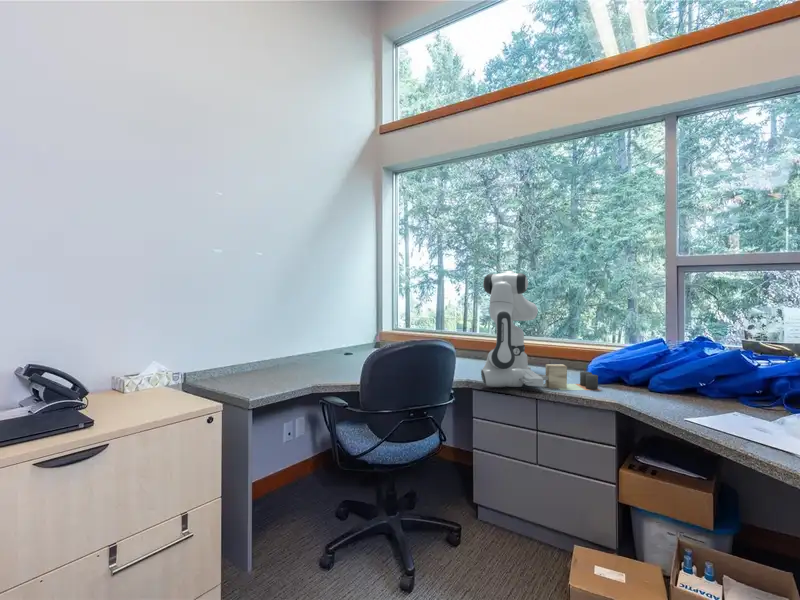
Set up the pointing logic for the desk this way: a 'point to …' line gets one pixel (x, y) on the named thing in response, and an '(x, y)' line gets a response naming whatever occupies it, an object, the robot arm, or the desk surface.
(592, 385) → the post
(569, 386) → the lane mat
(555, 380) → the birch block
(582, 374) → the post
